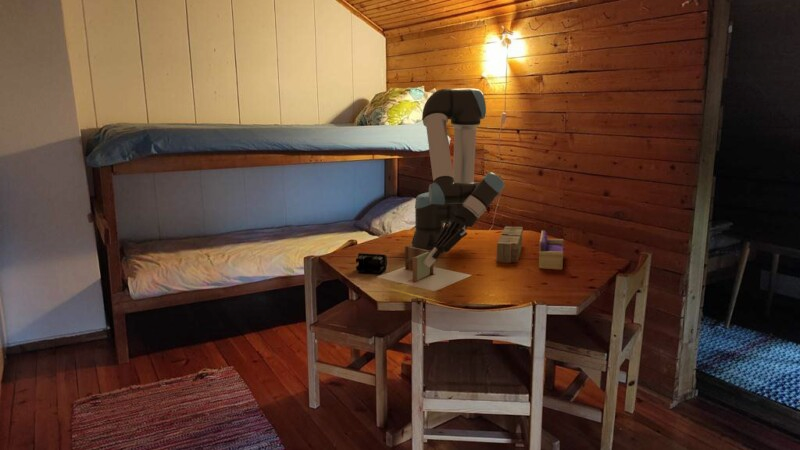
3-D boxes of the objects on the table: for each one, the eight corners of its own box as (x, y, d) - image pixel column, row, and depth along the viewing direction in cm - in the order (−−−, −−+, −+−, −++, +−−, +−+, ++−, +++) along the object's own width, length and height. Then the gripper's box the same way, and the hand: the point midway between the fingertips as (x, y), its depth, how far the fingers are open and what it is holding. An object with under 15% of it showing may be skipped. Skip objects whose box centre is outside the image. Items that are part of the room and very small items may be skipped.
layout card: (376, 278, 197) (376, 276, 197) (415, 264, 213) (415, 262, 213) (434, 292, 181) (434, 291, 181) (471, 276, 198) (471, 274, 197)
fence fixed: (404, 269, 205) (403, 246, 203) (407, 268, 207) (407, 245, 205) (431, 275, 198) (431, 252, 196) (434, 274, 199) (434, 251, 197)
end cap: (387, 270, 206) (387, 252, 204) (382, 276, 199) (381, 257, 198) (361, 269, 208) (360, 251, 207) (355, 274, 201) (354, 256, 200)
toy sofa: (562, 270, 204) (564, 243, 201) (538, 269, 206) (539, 241, 204) (563, 255, 223) (564, 230, 221) (540, 254, 226) (541, 229, 223)
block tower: (517, 266, 213) (523, 245, 241) (517, 244, 211) (523, 225, 239) (496, 264, 216) (504, 243, 243) (496, 243, 214) (504, 224, 241)
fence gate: (426, 273, 198) (426, 251, 197) (430, 274, 197) (430, 252, 196) (411, 281, 190) (411, 258, 189) (415, 281, 189) (415, 258, 188)
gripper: (485, 222, 190) (441, 276, 188) (467, 215, 202) (425, 266, 199) (471, 208, 187) (426, 263, 185) (454, 202, 199) (411, 253, 196)
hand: (426, 264), depth 192 cm, fingers closed
